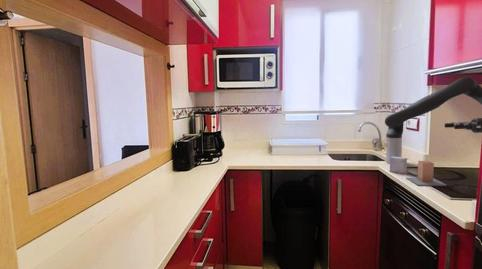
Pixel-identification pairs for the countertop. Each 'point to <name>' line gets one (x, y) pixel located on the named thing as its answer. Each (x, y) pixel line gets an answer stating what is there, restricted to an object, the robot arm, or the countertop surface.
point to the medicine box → (398, 164)
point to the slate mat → (419, 183)
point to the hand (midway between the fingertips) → (449, 126)
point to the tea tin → (425, 171)
